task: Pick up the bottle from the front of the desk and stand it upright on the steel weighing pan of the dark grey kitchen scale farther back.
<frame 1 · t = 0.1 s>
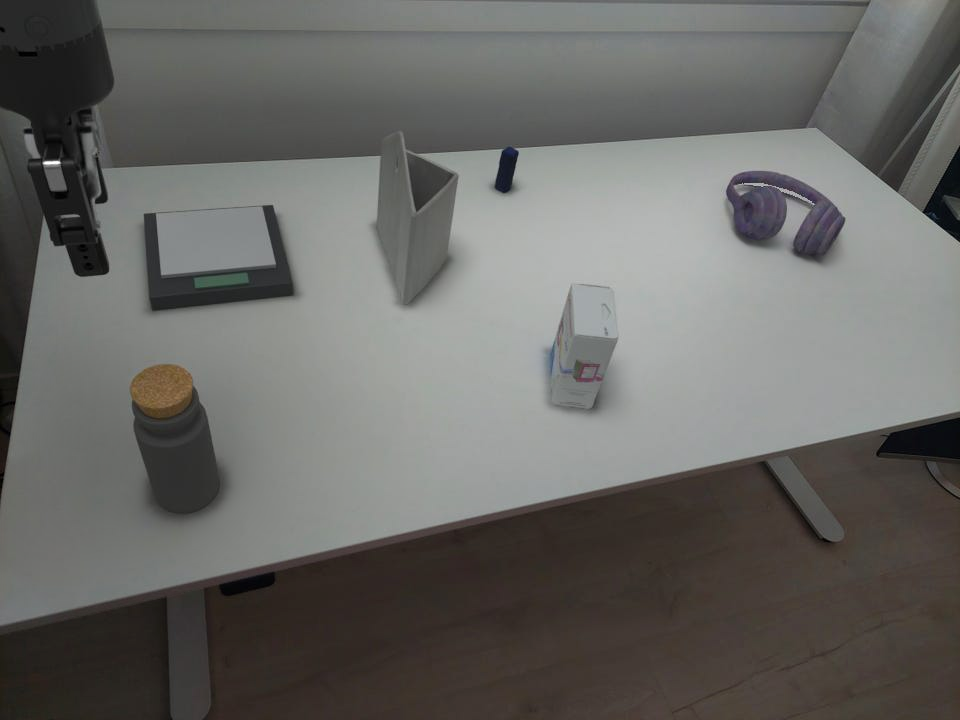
hand: (93, 235, 53), 25 cm above the table, tool pointing down, fingers open, 8 cm apart
scale: (218, 260, 90), on the table
eraser: (502, 190, 111), on the table
planter: (417, 263, 96), on the table
headphones: (774, 223, 117), on the table
bottle: (188, 488, 68), on the table
ink box: (568, 381, 86), on the table
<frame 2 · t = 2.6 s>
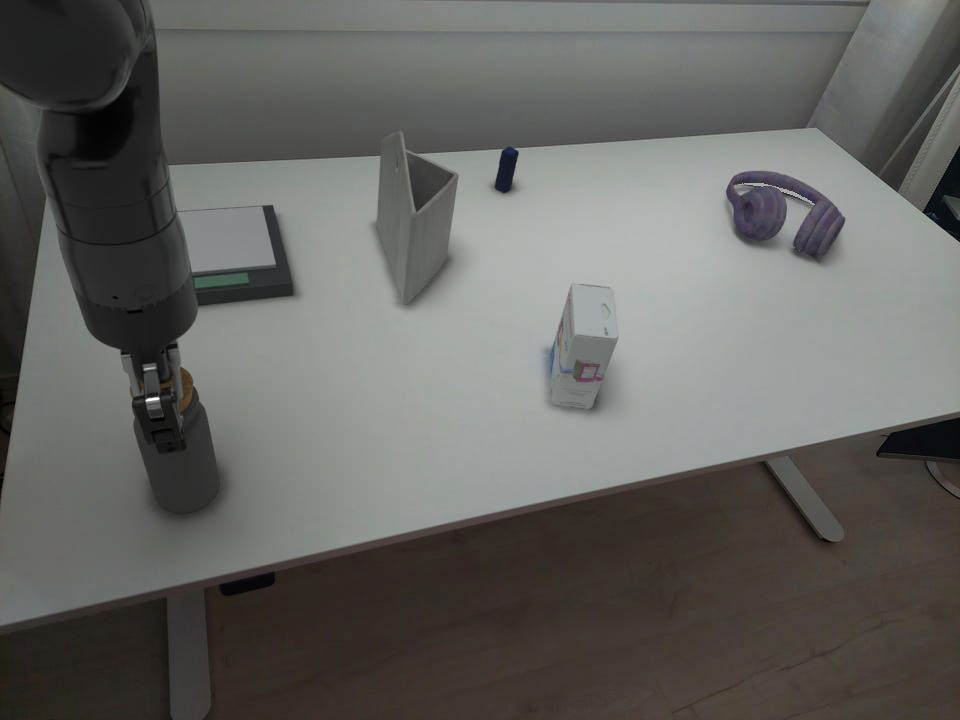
hand: (170, 419, 61), 11 cm above the table, tool pointing down, fingers closed on bottle, 5 cm apart
bottle: (187, 489, 68), on the table, touching gripper
everything else where it was.
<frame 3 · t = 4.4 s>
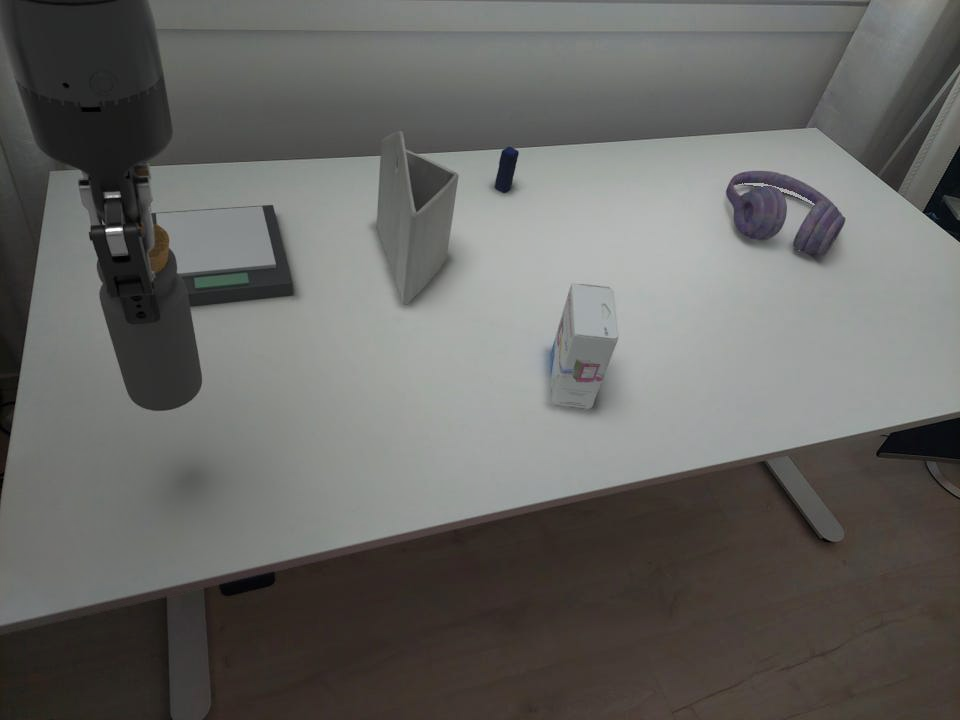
hand: (142, 289, 52), 24 cm above the table, tool pointing down, fingers closed on bottle, 5 cm apart
bottle: (165, 386, 60), point 13 cm above the table, touching gripper
everything else where it was.
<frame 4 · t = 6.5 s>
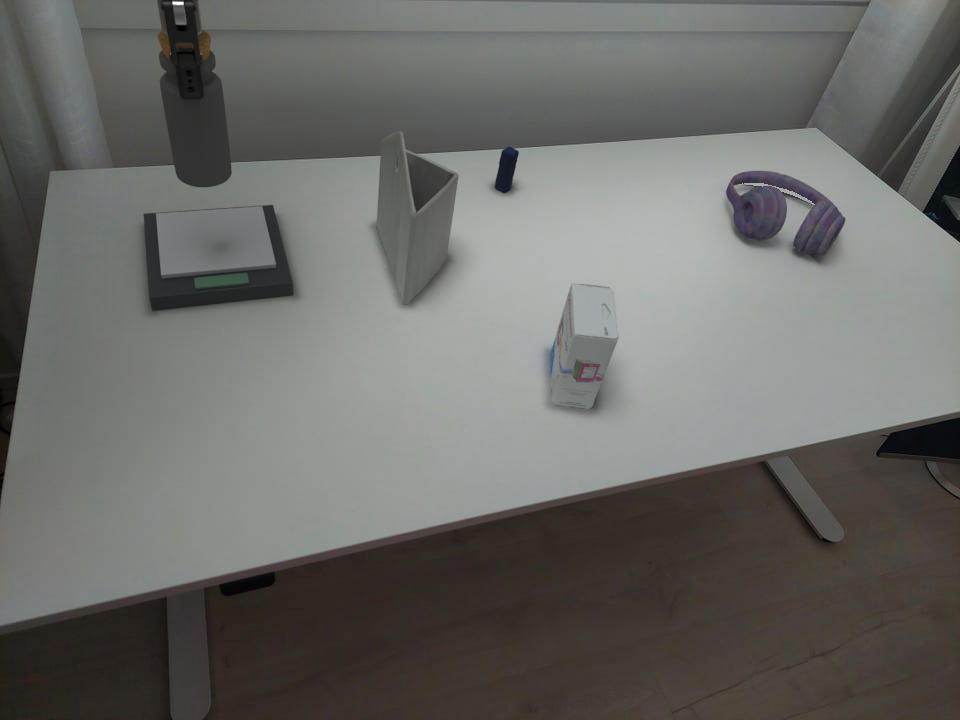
hand: (190, 81, 71), 25 cm above the table, tool pointing down, fingers closed on bottle, 5 cm apart
bottle: (204, 174, 79), point 14 cm above the table, touching gripper
everything else where it was.
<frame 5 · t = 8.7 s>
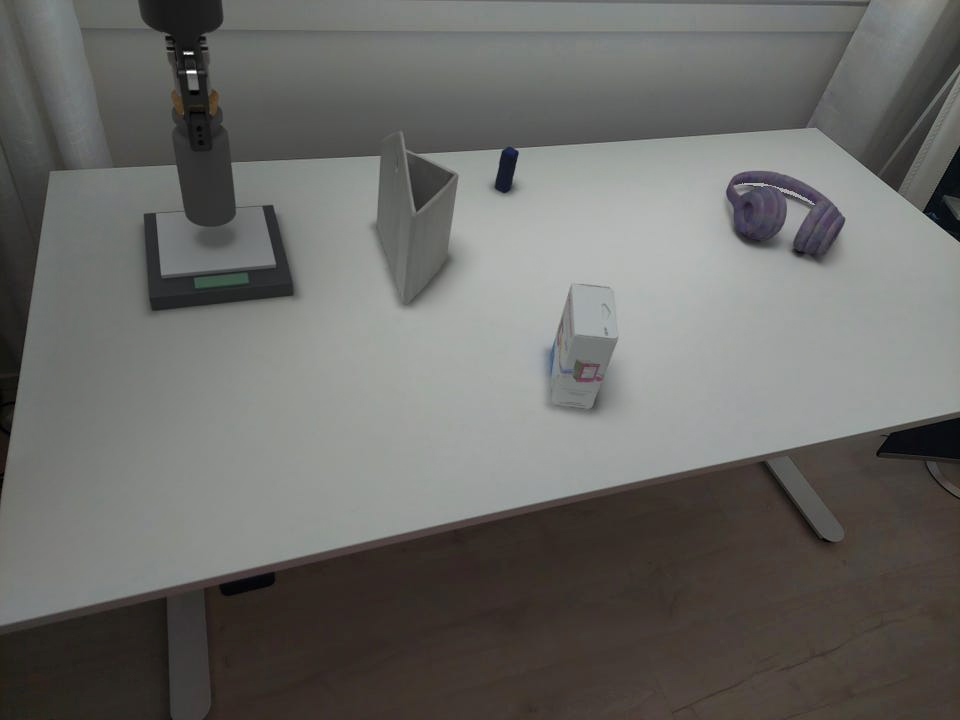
hand: (199, 133, 78), 17 cm above the table, tool pointing down, fingers closed on bottle, 5 cm apart
bottle: (211, 214, 86), point 6 cm above the table, touching gripper
everything else where it was.
when the fingers open (13 cm above the table, at t = 10.4 s): bottle stays where it is, resting on scale.
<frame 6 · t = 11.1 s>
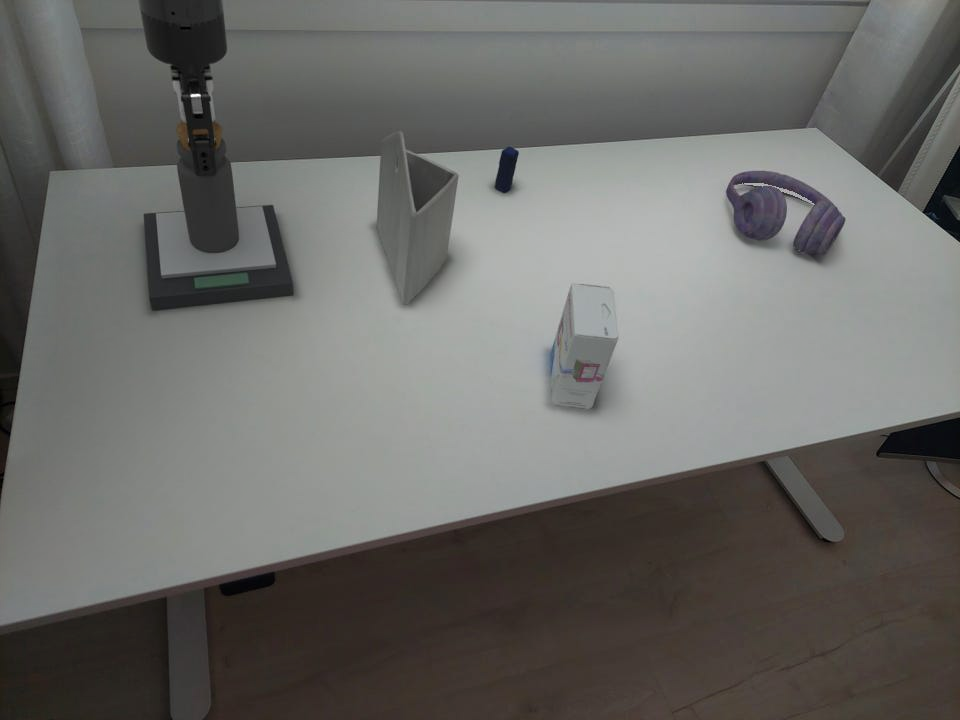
hand: (202, 153, 80), 15 cm above the table, tool pointing down, fingers open, 8 cm apart
bottle: (214, 239, 89), point 3 cm above the table, touching scale
everything else where it was.
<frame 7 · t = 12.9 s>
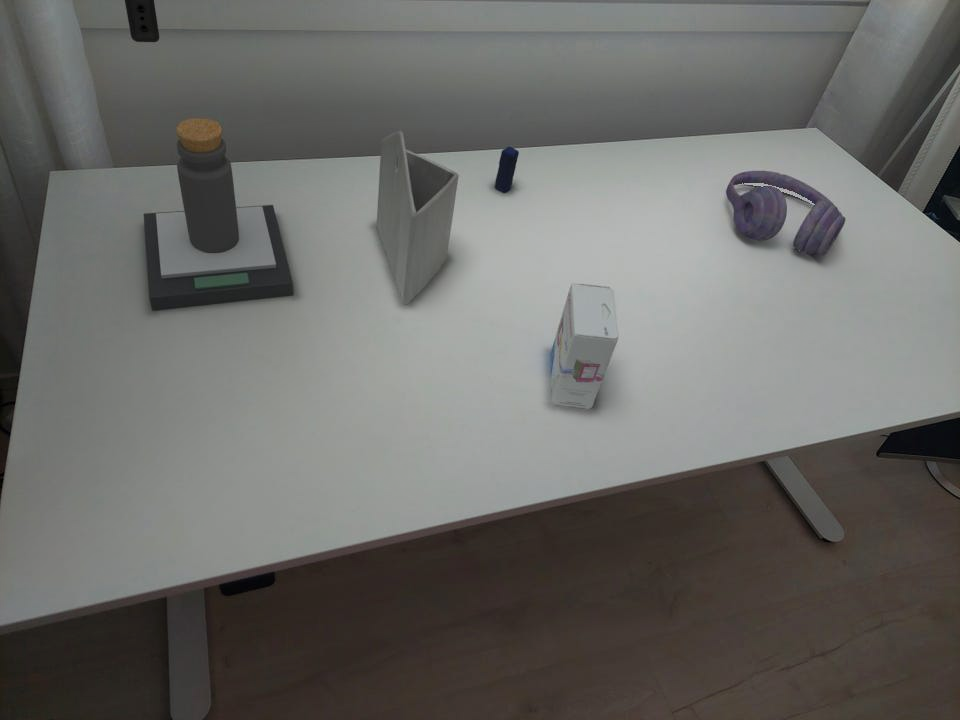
hand: (143, 19, 64), 32 cm above the table, tool pointing down, fingers open, 8 cm apart
nothing on the table moved.
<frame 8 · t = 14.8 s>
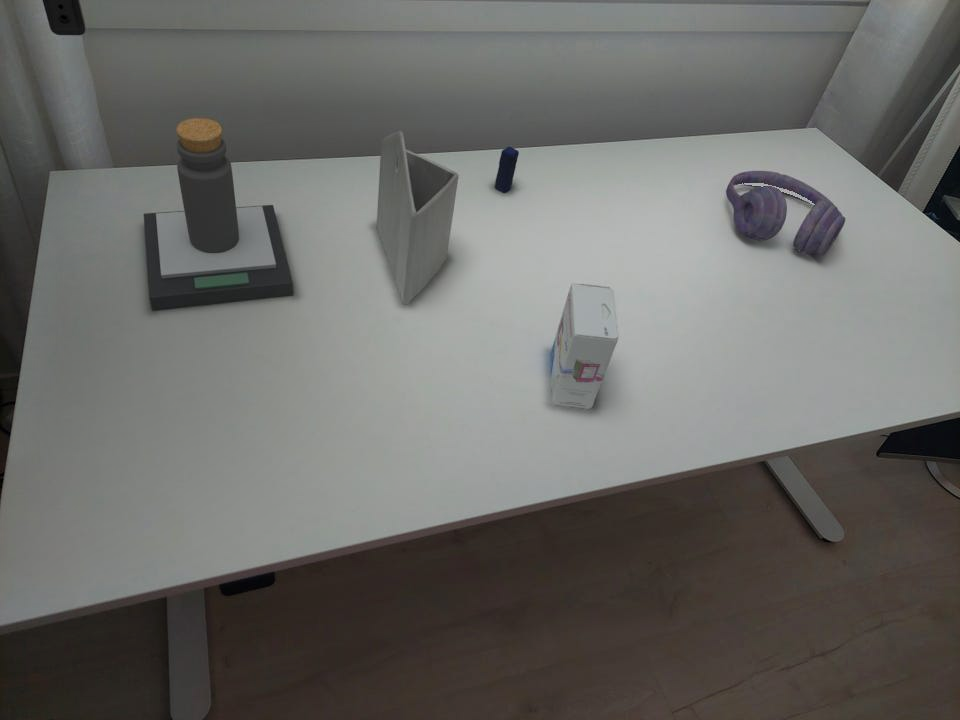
hand: (70, 7, 54), 36 cm above the table, tool pointing down, fingers open, 8 cm apart
nothing on the table moved.
at the end: bottle inside the target area on the scale (0.1 cm from its centre), point 2.6 cm above the scale's base; bottle tilted 0°; the gripper is holding nothing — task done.
